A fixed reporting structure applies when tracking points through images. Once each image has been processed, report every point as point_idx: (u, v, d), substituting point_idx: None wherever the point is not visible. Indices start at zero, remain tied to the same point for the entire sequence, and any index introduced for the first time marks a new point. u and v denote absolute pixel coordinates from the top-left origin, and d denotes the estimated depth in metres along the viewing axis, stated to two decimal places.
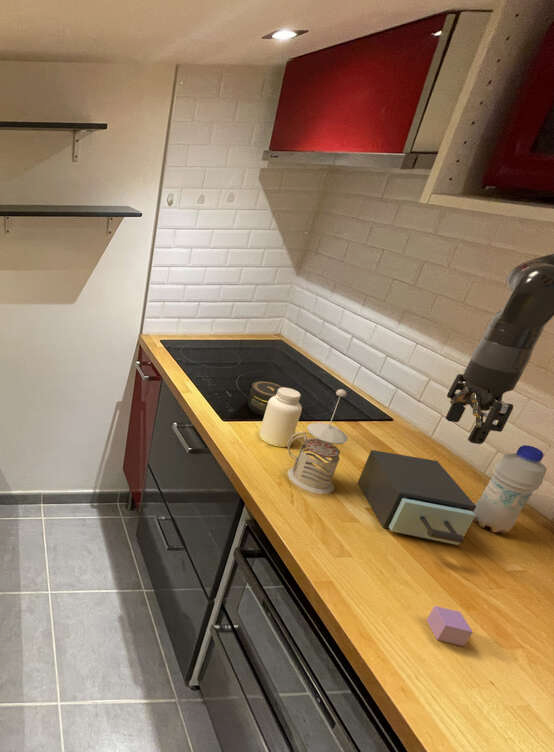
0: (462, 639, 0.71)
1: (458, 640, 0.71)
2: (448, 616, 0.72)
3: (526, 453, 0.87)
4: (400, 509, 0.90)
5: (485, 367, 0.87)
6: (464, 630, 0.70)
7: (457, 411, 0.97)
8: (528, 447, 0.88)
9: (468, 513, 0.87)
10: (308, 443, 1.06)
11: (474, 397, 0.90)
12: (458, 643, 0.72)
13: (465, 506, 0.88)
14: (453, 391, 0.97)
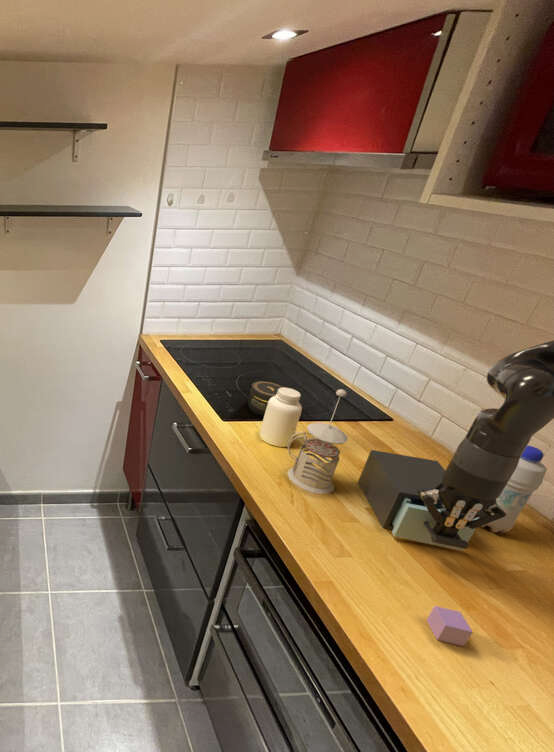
0: (462, 639, 0.71)
1: (458, 640, 0.71)
2: (448, 616, 0.72)
3: (526, 453, 0.87)
4: (403, 514, 0.89)
5: None
6: (464, 630, 0.70)
7: None
8: (528, 447, 0.88)
9: None
10: (308, 443, 1.06)
11: None
12: (458, 643, 0.72)
13: None
14: None
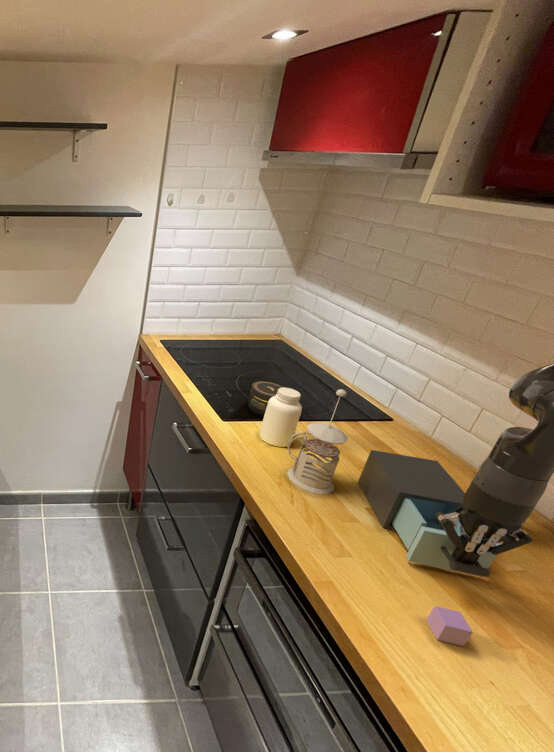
0: (462, 639, 0.71)
1: (458, 640, 0.71)
2: (448, 616, 0.72)
3: None
4: (419, 538, 0.83)
5: None
6: (464, 630, 0.70)
7: None
8: None
9: None
10: (308, 443, 1.06)
11: None
12: (458, 643, 0.72)
13: None
14: None
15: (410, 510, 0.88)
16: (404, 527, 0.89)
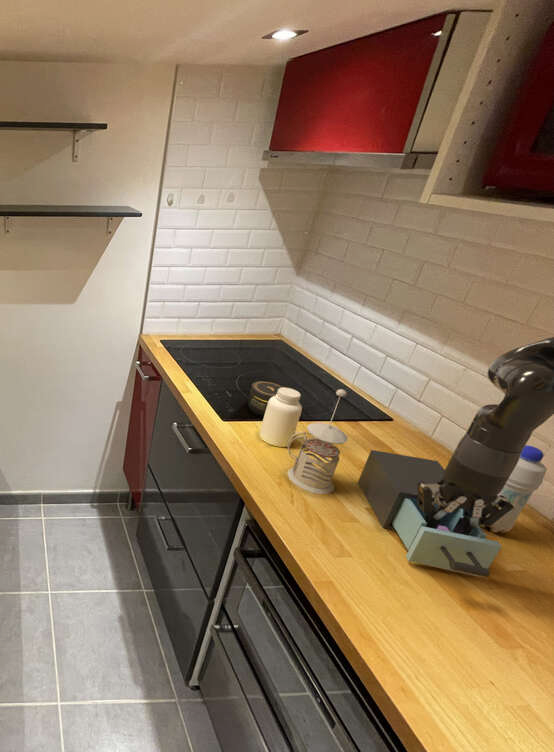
0: None
1: None
2: None
3: (526, 453, 0.87)
4: (419, 538, 0.83)
5: None
6: None
7: (460, 525, 0.84)
8: (528, 447, 0.88)
9: (493, 543, 0.80)
10: (308, 443, 1.06)
11: None
12: None
13: None
14: (482, 509, 0.83)
15: (410, 510, 0.88)
16: (404, 527, 0.89)
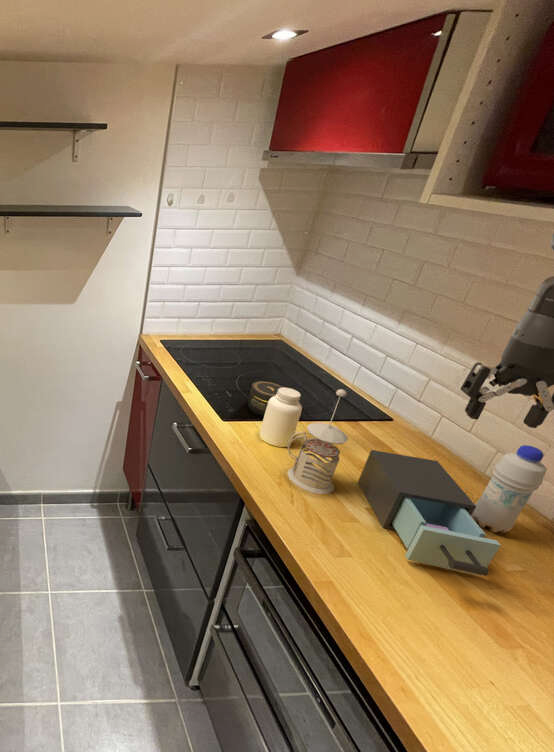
0: None
1: None
2: None
3: (526, 453, 0.87)
4: (418, 537, 0.84)
5: None
6: None
7: (533, 412, 0.79)
8: (528, 447, 0.88)
9: (492, 542, 0.80)
10: (308, 443, 1.06)
11: None
12: None
13: (465, 506, 0.88)
14: None
15: (409, 509, 0.89)
16: (403, 526, 0.90)
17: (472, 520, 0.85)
